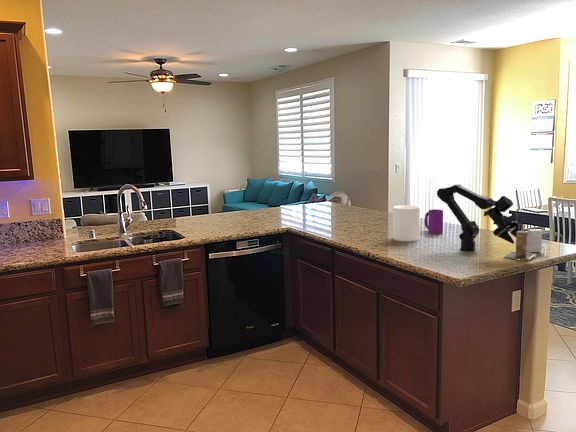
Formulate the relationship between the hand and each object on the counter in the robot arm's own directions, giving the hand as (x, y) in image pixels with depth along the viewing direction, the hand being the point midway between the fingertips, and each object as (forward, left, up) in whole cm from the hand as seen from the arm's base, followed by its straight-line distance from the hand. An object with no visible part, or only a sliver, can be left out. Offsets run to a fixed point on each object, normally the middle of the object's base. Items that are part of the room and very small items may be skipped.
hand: (517, 241), depth 241 cm
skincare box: (+3, +18, -9) cm, 20 cm away
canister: (-69, +12, -9) cm, 71 cm away
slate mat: (+1, +2, -8) cm, 9 cm away
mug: (-65, +40, -9) cm, 77 cm away
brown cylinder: (+2, 0, -8) cm, 8 cm away
